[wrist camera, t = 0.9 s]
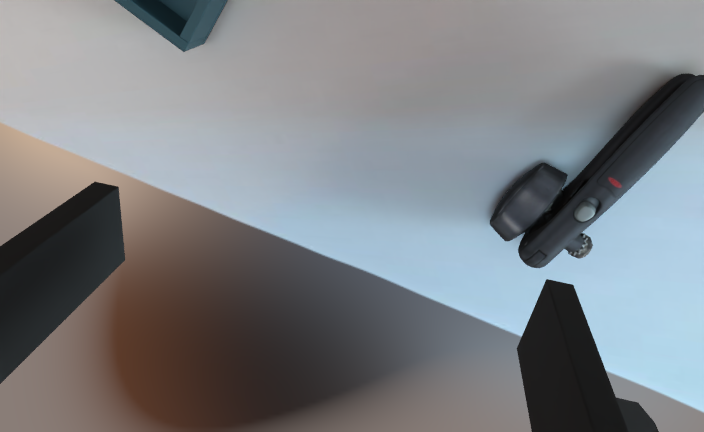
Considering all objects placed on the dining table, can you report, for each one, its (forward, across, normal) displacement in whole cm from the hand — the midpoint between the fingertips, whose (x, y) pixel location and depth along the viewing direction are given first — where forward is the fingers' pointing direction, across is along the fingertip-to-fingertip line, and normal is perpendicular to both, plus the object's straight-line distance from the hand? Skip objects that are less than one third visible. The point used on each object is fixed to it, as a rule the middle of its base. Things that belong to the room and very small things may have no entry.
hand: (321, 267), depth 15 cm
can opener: (+27, +16, -4) cm, 32 cm away
